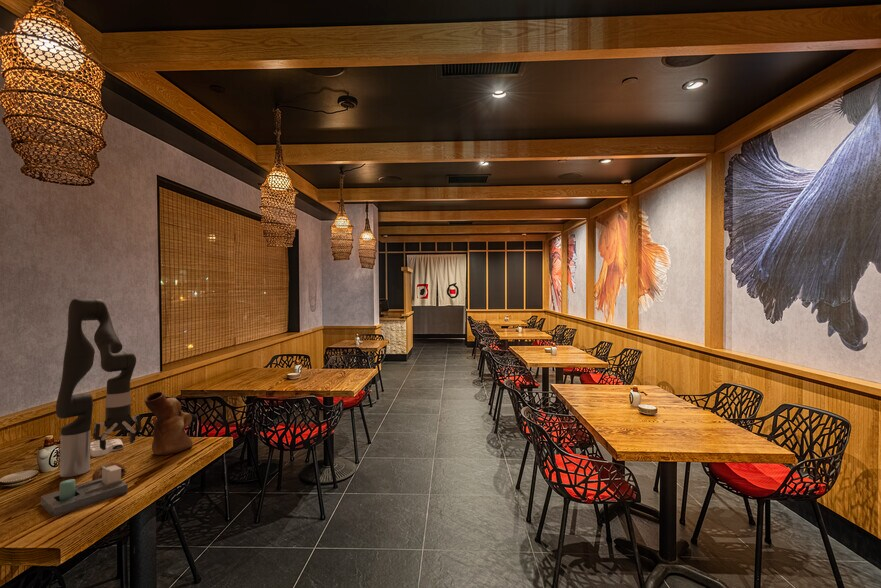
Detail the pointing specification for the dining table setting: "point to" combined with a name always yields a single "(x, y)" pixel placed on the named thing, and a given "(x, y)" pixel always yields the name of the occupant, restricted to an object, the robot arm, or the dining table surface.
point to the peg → (67, 489)
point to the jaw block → (111, 474)
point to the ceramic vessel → (168, 424)
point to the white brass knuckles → (110, 447)
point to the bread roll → (98, 471)
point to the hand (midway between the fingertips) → (117, 446)
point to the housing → (82, 496)
